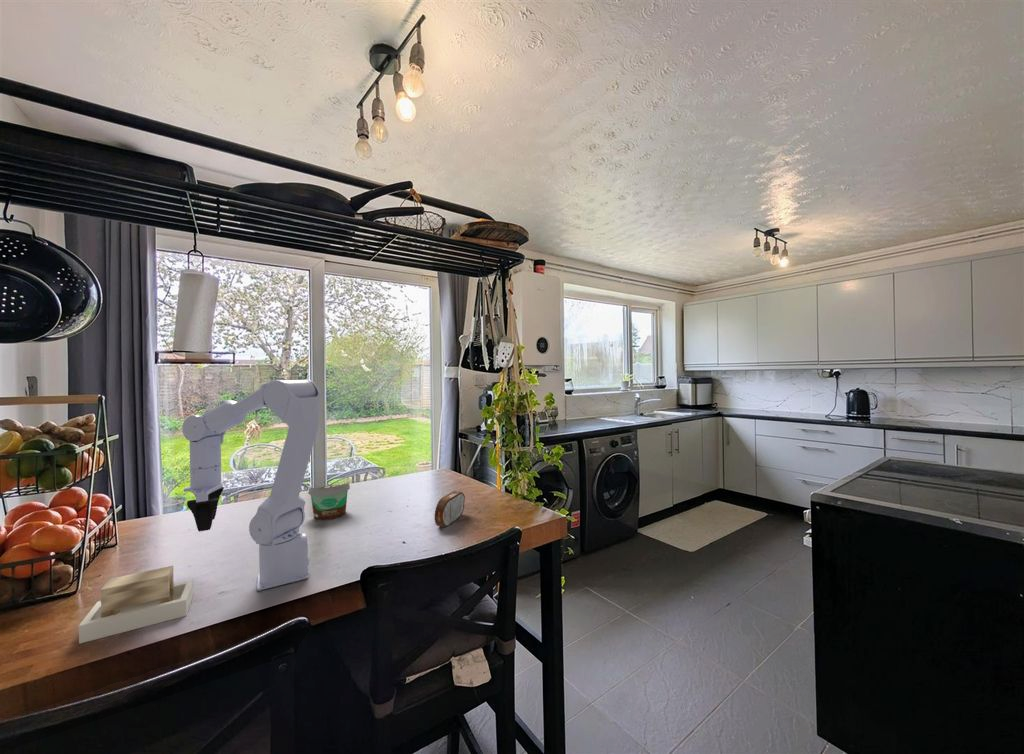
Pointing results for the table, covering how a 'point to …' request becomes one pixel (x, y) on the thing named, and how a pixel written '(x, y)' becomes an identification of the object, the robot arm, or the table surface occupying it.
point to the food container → (329, 501)
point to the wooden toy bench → (137, 590)
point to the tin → (449, 508)
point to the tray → (136, 615)
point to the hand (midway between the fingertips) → (206, 524)
